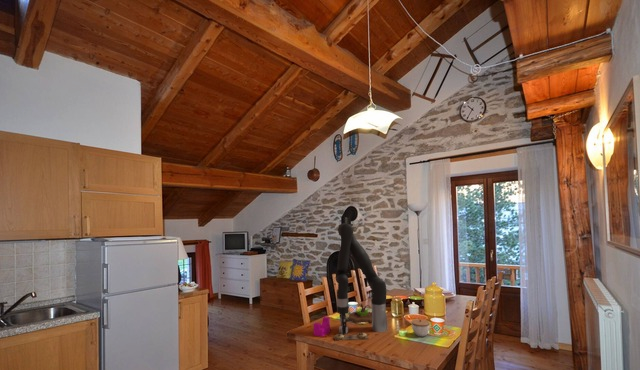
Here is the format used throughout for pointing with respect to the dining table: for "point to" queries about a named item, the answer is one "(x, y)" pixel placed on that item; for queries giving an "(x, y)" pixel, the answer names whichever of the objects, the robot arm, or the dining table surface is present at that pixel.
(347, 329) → the idler gear
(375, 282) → the robot arm
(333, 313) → the dining table surface
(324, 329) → the toy block
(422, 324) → the lidded jar
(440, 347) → the dining table surface
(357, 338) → the gear board
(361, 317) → the plant
